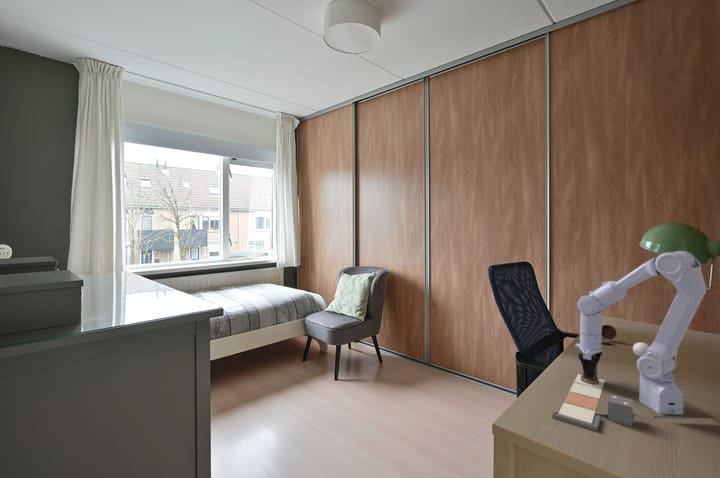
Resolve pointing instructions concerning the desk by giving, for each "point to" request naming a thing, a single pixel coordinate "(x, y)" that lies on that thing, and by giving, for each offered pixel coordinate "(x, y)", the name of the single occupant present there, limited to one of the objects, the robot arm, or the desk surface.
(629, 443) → the desk surface
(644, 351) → the seamed sphere
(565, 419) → the board
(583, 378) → the pawn
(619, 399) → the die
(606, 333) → the compass
